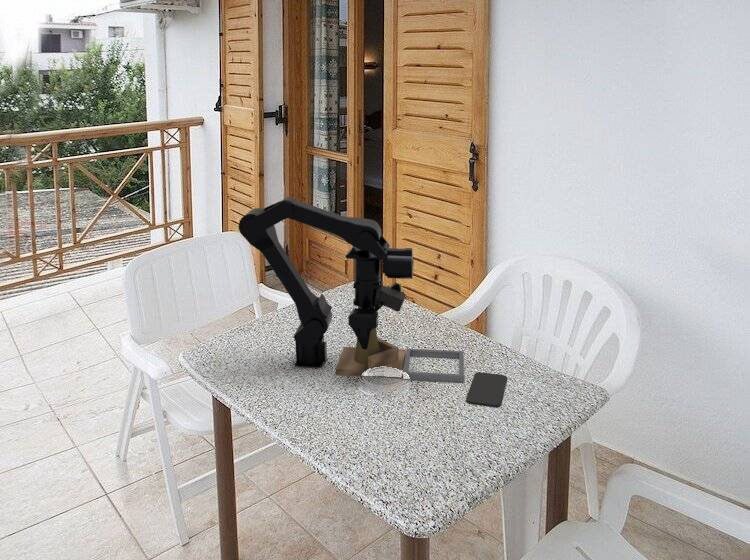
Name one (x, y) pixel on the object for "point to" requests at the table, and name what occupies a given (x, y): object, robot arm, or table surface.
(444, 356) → the steel collar
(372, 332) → the cork
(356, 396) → the table surface
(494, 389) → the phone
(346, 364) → the dog kennel
